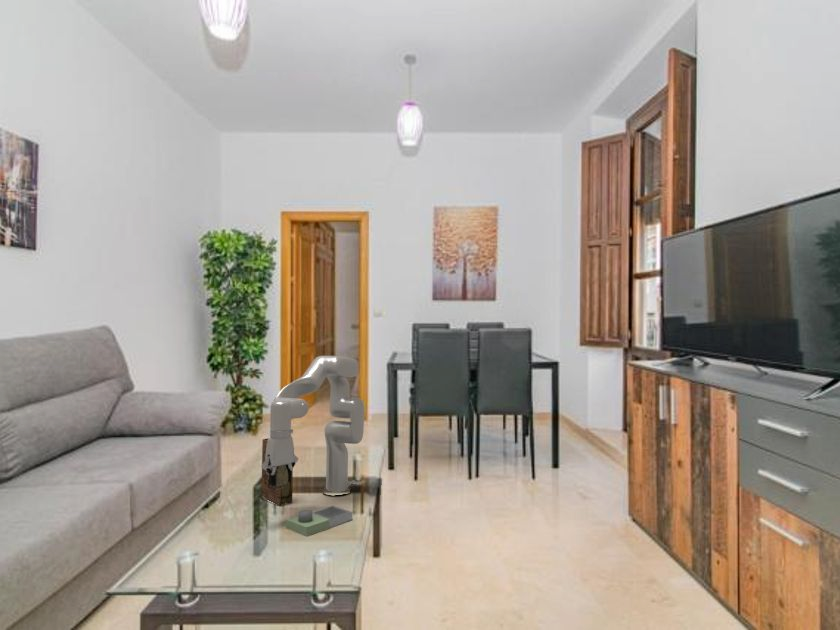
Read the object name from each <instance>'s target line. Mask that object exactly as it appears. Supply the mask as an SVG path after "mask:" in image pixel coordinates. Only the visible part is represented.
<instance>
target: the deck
mask: <svg viewBox="0 0 840 630" xmlns="http://www.w3.org/2000/svg"><path fill="white" fill-rule="evenodd" d="M312 512H313V510H311V509H301V510H299V511H298V512H297V515H296V516H292V517H289V518H287V519H285V529H287V530H289V531H292V532H295V533H298V534H299V535H303V536H304V537H308V536H311V535H314V534H317V533H319V532H320V533H321V532H323V531H326V530H328V529H330V528H329V520H328V519H325V518H322V517H319V516H316V515H314V514H312Z"/></svg>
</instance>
